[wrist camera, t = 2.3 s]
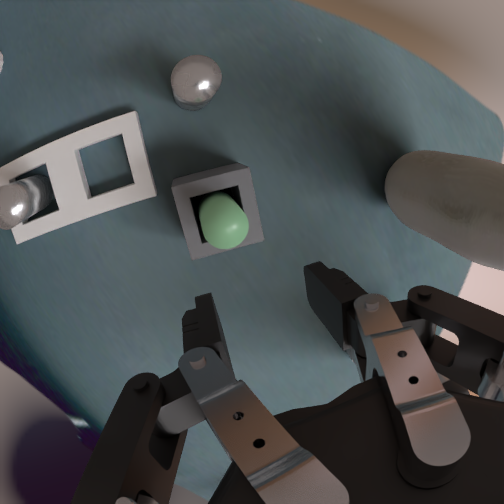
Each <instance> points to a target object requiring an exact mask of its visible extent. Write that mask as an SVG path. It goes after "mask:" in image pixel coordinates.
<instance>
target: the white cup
mask: <svg viewBox="0 0 504 504" xmlns="http://www.w3.org/2000/svg"><path fill="white" fill-rule="evenodd" d="M2 66H3V55H2V53H1V51H0V72H1V70H2Z"/></svg>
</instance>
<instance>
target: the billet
mask: <svg viewBox="0 0 504 504" xmlns="http://www.w3.org/2000/svg"><path fill="white" fill-rule="evenodd" d="M221 80H222V74H221V70H220V68H219V66H218V65H217V63H216V62H215V61H213V60H212V59H211V58H209V57H206V56H202V55H193V56H189V57H186V58H184V59H182V60H181V61H180V62H178V63H177V65H176V66H175V67H174V69H173V71H172V74H171V85H172V90H173V95H174V99H175V102H176V103H177V105H178V106H179V107H181V108H182V109H184V110H188V111H196V110H200V109H202V108H204V107H205V106H206V105H207V104H208V103H209V101H210V100H211V99H212V97H213V96H214V94H215V93H216V92H217V90H218V89H219V87H220V84H221Z"/></svg>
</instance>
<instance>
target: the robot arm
mask: <svg viewBox="0 0 504 504" xmlns="http://www.w3.org/2000/svg"><path fill="white" fill-rule="evenodd" d="M304 276H305V283H306V290H307V297H308V301H309V304H310V306H311V308H312V309H313V311H314V312H315V313H316V315H317V316H318V317H319V319H320V320H321V321H322V323H323V324H324V325H325V327H326V328H327V329H328V331H329V332H330V333H331V335H332V336H333V337H334V339H335V340H336V341H337V343H338V344H339V345H340V347H341V348H342V350H343V351H344V350H346V352H347V354H348V355H349V356H350V358H351V359H352V361H353V362H354V363H355V364H356V366H357V370H358V373H359V377H360V381H361V383H360V384H357V385H355V386H353V387H351V388H350V389H349V390H347V391H346V392H344V393H343V394H341V395H340V396H338V397H337V398H336V399H334V400H333V401H331V402H329V403H327V404H324V405H318V406H312V407H305V408H298V409H292V410H289V411H286V412H283V413H280V414H277V415H274V416H273V415H272V414H271V413H270V412H269V411H268V409H267V408H266V407H265V406H264V405H263V404H262V402H261V401H260V400H259V399H258V398H257V397H256V395H255V394H254V393H253V392H252V391H251V389H250V388H249V387H248V386H247V385H246V383H245V382H244V381H243V380H239V381H237V380H236V378H235V375H234V372H233V368H232V364H231V360H230V356H229V352H228V349H227V345H226V341H225V337H224V333H223V329H222V326H221V323H220V319H219V316H218V313H217V310H216V307H215V304H214V300H213V297H212V294H211V293H208V294H204V295H200V296H197V297H195V303H196V308H195V309H192V310H188V311H186V312H185V314H184V316H183V318H182V327H183V328H182V331H183V349H184V354H183V355H182V356H181V358H180V359H179V362H178V366H179V367H178V368H177V369H176V370H175V371H174V372H172V373H170V374H168V375H166V376H164V377H162V378H160V379H159V377H158V376H157V375H155V374H153V373H141V374H138V375H135V376H134V377H132V378H131V379H130V380H128V382H127V383H126V384H125V386H124V388H123V390H122V392H121V394H120V396H119V398H118V400H117V402H116V404H115V406H114V408H113V410H112V412H111V414H110V416H109V419H108V421H107V423H106V425H105V427H104V429H103V431H102V433H101V435H100V438H99V440H98V442H97V444H96V446H95V448H94V451H93V453H92V455H91V457H90V460H89V462H88V464H87V466H86V468H85V471H84V473H83V476H82V478H81V480H80V482H79V485H78V487H77V489H76V492H75V494H74V496H73V499H72V501H71V504H169V500H170V496H171V492H172V488H173V484H174V481H175V477H176V473H177V469H178V465H179V462H180V458H181V454H182V450H183V447H184V443H185V439H186V436H187V431H188V428H190V427H192V426H194V425H196V424H198V423H200V422H202V421H204V420H205V419H206V421H207V423H208V424H209V426H210V428H211V429H212V431H213V433H214V434H215V436H216V437H217V439H218V441H219V442H220V444H221V445H222V447H223V449H224V450H225V452H226V454H227V455H228V457H229V458H230V460H231V461H232V463H231V464H230V466H229V468H228V470H227V472H226V473H225V475H224V477H223V479H222V480H221V482H220V484H219V485H218V487H217V489H216V491H215V492H214V494H213V496H212V497H211V499H210V501H209V502H208V504H504V316H503V315H501V314H498V313H496V312H493V311H491V310H489V309H486V308H484V307H481V306H479V305H476V304H474V303H472V302H469V301H467V300H464V299H461V298H459V297H457V296H454V295H452V294H449V293H447V292H444V291H442V290H439V289H437V288H434V287H431V286H426V285H421V286H416V287H413V288H412V289H410V290H409V292H408V299H407V300H401V301H395V302H389V300H388V299H387V298H386V297H385V296H383V295H380V294H368V293H367V292H366V291H365V290H363V289H362V288H361V287H360V286H359V285H358V284H357V283H356V282H354V281H353V280H352V279H351V278H349V276H348V275H346V274H345V273H344V272H343V271H340V270H338V269H335V268H332V269H328V268H327V267H326V266H325V265H324V264H323V263H322V262H320V261H319V262H315V263H312V264H309V265H306V266H304ZM437 325H438V326H440V327H442V328H444V329H446V330H449V331H451V332H453V333H455V334H456V335H457V337H458V339H459V345H456V344H454V343H452V342H450V341H448V340H446V339H444V338H442V337H440V336H438V335H435V331H436V326H437ZM468 390H470V391H472V392H474V393H475V394H477V395H479V397H477V396H472V395H470V394H469V392H468Z"/></svg>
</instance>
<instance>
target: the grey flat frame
mask: <svg viewBox="0 0 504 504" xmlns="http://www.w3.org/2000/svg"><path fill="white" fill-rule="evenodd" d="M121 134H122V135H123V140H124V144H125V148H126V152H127V156H128V160H129V164H130V168H131V171H132V175H133V179H134V182H135V183H132V184H129V185H126V186H123V187H120V188H117V189H114V190H110V191H108V192H105V193H102V194H99V195H96V196H93V197H92V196H91V193H90V189H89V186H88V182H87V179H86V175H85V171H84V168H83V164H82V160H81V156H80V152H79V150H80V149H82V148H85V147H88V146H90V145H93V144H96V143H98V142H101V141H104V140H107V139H110V138H113V137H116V136H118V135H121ZM44 164H46V166H47V169H48V173H49V177H50V181H51V184H52V188H53V191H54V194H55V198H56V201H57V204H58V207H59V209H58V210H55V211H53V212H50V213H48V214H45V215H43V216H40V217H38V218H35V219H33V220H31V221H28V219H26V220H24V221H23V222H21V223H20V224H18V225H16V226H15V227H13V228H12V232H13V235H14V238H15V240H16V243H17V244H19V243H21V242H24V241H26V240H29V239H31V238H34V237H36V236H39V235H42V234H44V233H47V232H49V231H52V230H55V229H58V228H60V227H63V226H66V225H68V224H71V223H74V222H77V221H80V220H83V219H85V218H88V217H91V216H94V215H97V214H100V213H103V212H106V211H109V210H112V209H115V208H118V207H122V206H125V205H128V204H131V203H134V202H138V201H141V200H144V199H147V198H151V197H154V196H157V189H156V186H155V182H154V178H153V174H152V170H151V167H150V163H149V159H148V155H147V151H146V147H145V143H144V138H143V134H142V130H141V126H140V121H139V117H138V112H136V111H133V112H130V113H127V114H124V115H121V116H118V117H115V118H112V119H109V120H106V121H103V122H100V123H98V124H95V125H92V126H90V127H87V128H85V129H82V130H79V131H77V132H74V133H72V134H70V135H67V136H65V137H62V138H60V139H58V140H55V141H53V142H51V143H49V144H47V145H44V146H42V147H40V148H38V149H36V150H34V151H32V152H30V153H28V154H25V155H23V156H21V157H20V158H18V159H16V160H14V161H12V162H10V163H8V164H6V165H4V166H2V167H1V168H0V187H1V186H4V185H7V184H9V183H12V182H15V181H16V179H15V178H16V177H18V176H20V175H23V174H25V173H27V172H29V171H31V170H33V169H35V168H37V167H40V166H42V165H44Z"/></svg>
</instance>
